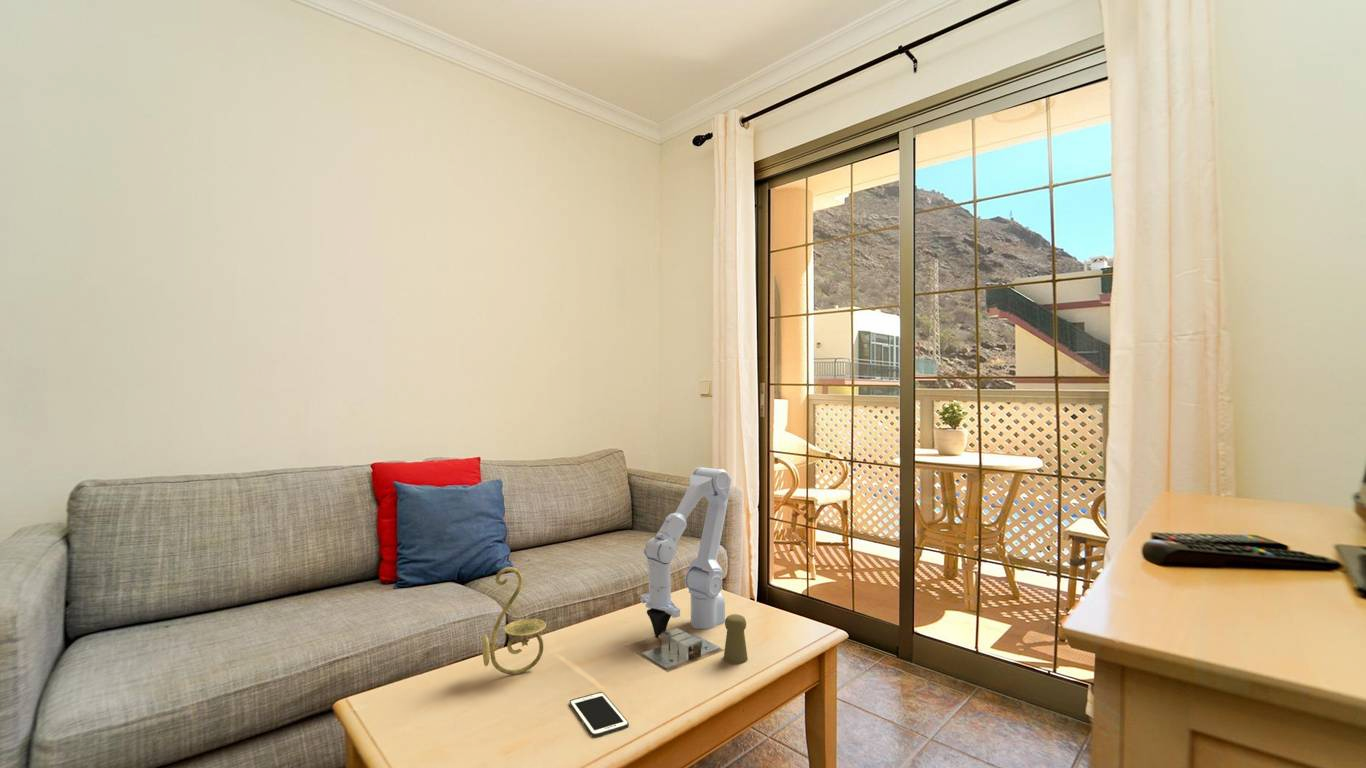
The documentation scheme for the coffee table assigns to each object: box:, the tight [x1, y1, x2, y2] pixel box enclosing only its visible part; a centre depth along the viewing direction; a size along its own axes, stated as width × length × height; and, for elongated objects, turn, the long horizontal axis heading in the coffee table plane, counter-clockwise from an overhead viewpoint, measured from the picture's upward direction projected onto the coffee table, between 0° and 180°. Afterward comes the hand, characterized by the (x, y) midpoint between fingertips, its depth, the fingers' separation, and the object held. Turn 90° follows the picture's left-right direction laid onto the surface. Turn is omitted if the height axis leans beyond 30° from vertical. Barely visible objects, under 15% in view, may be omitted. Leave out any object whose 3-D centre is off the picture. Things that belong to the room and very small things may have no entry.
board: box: [624, 627, 725, 673], centre depth 148 cm, size 18×18×1 cm
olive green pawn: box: [723, 613, 748, 665], centre depth 142 cm, size 6×6×11 cm
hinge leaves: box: [642, 627, 721, 669], centre depth 146 cm, size 17×10×4 cm, turn 129°
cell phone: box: [569, 691, 630, 739], centre depth 119 cm, size 8×15×1 cm, turn 30°
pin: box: [658, 630, 692, 654], centre depth 148 cm, size 10×3×3 cm, turn 39°
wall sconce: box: [481, 566, 547, 676], centre depth 136 cm, size 14×10×25 cm
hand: (659, 637), depth 153 cm, fingers closed
